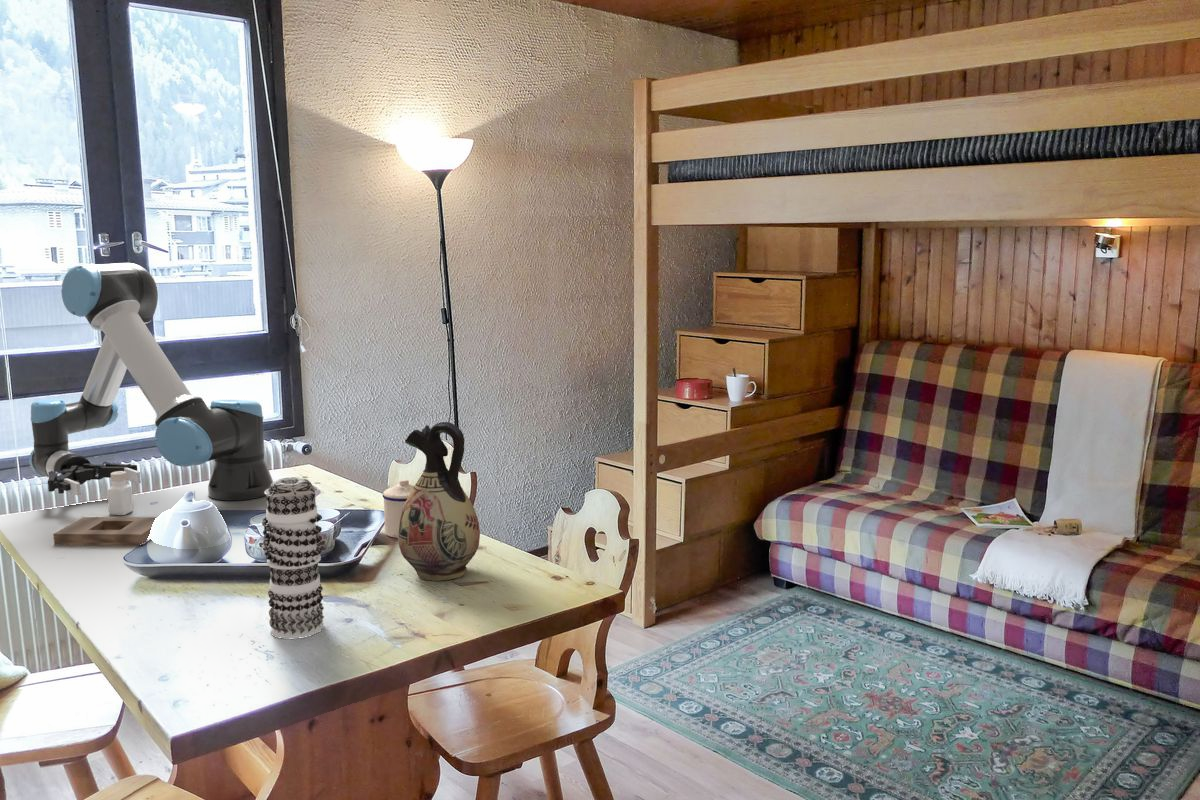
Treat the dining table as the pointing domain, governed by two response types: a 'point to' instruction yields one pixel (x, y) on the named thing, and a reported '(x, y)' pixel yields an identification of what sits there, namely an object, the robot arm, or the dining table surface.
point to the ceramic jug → (438, 510)
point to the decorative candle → (293, 558)
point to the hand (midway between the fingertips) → (109, 483)
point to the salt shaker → (119, 494)
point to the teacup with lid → (395, 505)
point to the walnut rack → (105, 531)
